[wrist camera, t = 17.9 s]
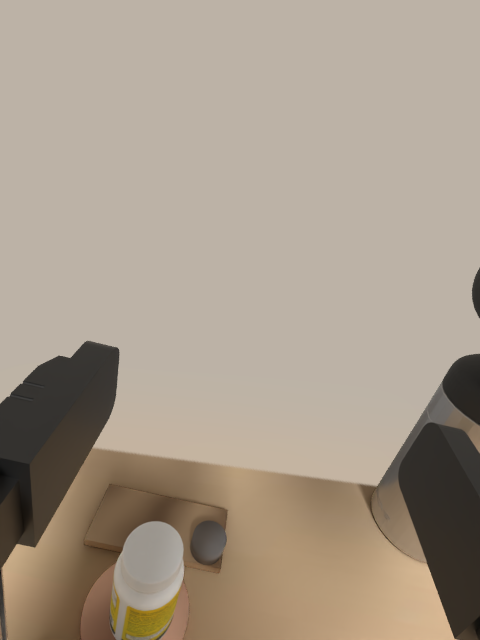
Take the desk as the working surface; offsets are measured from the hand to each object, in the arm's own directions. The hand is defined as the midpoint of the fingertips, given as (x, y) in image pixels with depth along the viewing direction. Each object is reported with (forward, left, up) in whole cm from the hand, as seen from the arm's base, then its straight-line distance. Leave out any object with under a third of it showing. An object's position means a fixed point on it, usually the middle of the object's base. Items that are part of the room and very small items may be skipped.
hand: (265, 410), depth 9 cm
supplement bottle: (+3, -6, -28) cm, 29 cm away
